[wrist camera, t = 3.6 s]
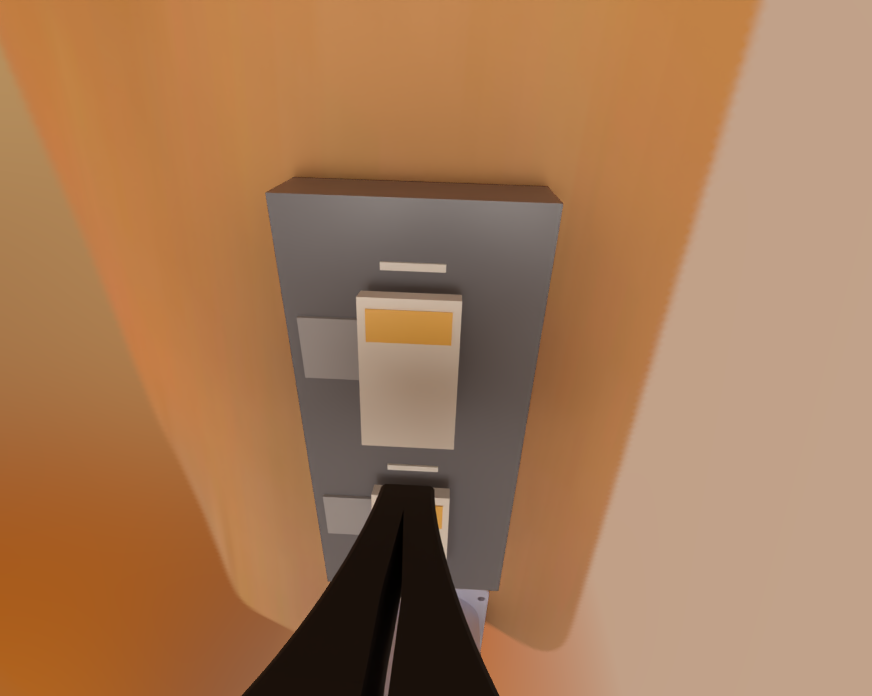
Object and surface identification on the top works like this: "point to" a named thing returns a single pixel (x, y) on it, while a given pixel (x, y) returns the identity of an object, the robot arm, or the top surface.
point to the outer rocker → (408, 368)
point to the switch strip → (478, 356)
